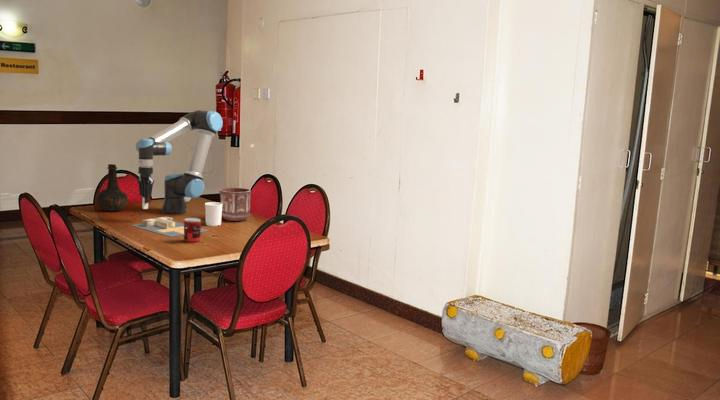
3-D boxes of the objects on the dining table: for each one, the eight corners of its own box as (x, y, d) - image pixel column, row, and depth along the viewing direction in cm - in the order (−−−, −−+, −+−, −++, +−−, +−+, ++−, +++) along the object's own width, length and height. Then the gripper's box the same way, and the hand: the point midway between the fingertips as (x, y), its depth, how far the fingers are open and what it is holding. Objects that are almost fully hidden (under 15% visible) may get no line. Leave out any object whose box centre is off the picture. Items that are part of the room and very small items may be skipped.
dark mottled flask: (111, 206, 381) (111, 161, 376) (134, 209, 375) (134, 164, 370) (89, 210, 364) (88, 164, 360) (113, 214, 358) (112, 166, 354)
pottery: (230, 215, 372) (230, 186, 369) (255, 219, 366) (256, 189, 362) (213, 220, 355) (213, 190, 352) (239, 224, 349) (240, 193, 346)
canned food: (185, 239, 307) (185, 217, 305) (201, 239, 308) (201, 218, 306) (182, 242, 299) (182, 220, 298) (199, 243, 300) (199, 221, 298)
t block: (167, 221, 344) (167, 216, 344) (183, 226, 335) (183, 220, 335) (141, 225, 332) (141, 219, 331) (158, 230, 323) (158, 224, 322)
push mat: (169, 220, 350) (169, 219, 350) (209, 230, 328) (209, 230, 328) (131, 225, 331) (131, 225, 331) (170, 237, 309) (170, 236, 309)
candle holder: (225, 224, 347) (226, 203, 345) (216, 227, 338) (216, 205, 336) (210, 222, 350) (211, 201, 349) (200, 225, 341) (201, 203, 339)
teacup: (186, 204, 403) (186, 192, 402) (171, 202, 405) (171, 190, 404) (196, 201, 417) (196, 189, 415) (181, 199, 419) (181, 188, 417)
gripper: (132, 165, 339) (132, 207, 343) (146, 168, 331) (145, 211, 335) (145, 165, 345) (144, 206, 348) (158, 167, 337) (157, 209, 341)
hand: (145, 208), depth 342 cm, fingers closed
